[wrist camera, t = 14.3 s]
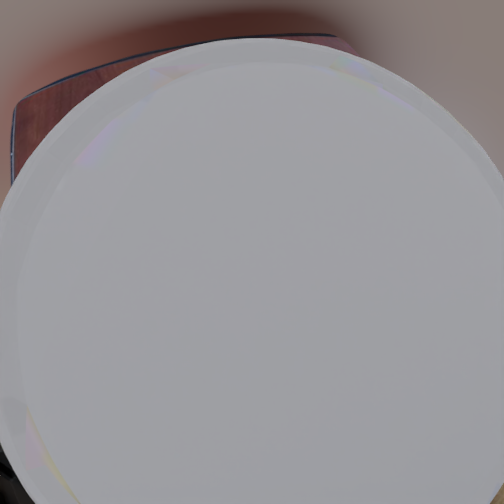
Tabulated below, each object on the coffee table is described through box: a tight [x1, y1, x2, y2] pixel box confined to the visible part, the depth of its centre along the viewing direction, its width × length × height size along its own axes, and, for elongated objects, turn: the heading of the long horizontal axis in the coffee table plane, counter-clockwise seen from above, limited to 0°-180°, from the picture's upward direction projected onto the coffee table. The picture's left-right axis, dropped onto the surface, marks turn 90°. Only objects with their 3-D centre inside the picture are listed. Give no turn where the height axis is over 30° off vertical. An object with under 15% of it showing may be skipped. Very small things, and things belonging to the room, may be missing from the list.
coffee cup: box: [0, 38, 504, 504], centre depth 9 cm, size 9×9×12 cm
